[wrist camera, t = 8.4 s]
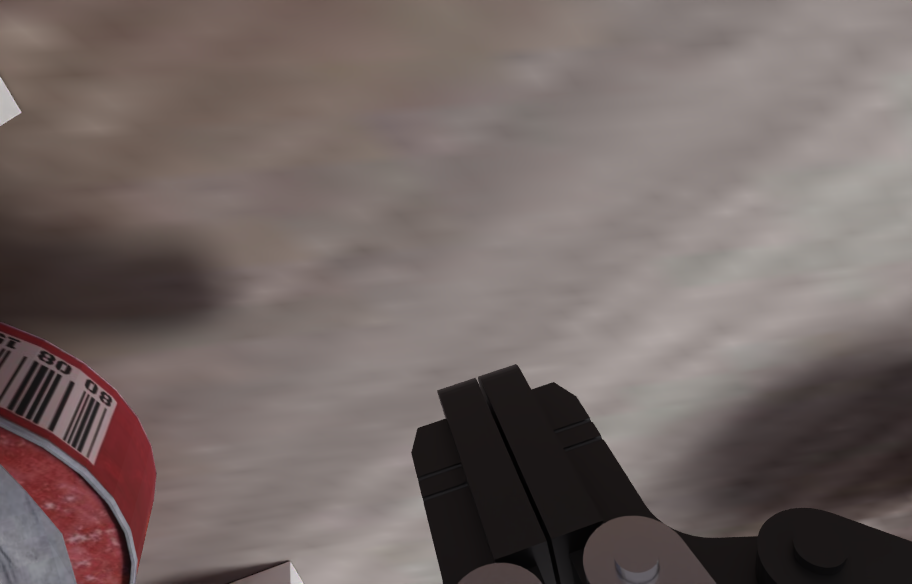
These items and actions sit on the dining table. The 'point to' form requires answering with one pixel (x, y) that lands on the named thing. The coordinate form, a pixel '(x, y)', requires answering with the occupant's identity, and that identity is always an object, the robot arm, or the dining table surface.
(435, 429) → the robot arm
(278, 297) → the dining table surface
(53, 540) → the canned food
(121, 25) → the dining table surface
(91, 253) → the dining table surface
